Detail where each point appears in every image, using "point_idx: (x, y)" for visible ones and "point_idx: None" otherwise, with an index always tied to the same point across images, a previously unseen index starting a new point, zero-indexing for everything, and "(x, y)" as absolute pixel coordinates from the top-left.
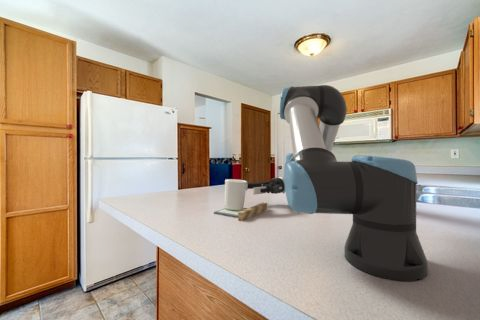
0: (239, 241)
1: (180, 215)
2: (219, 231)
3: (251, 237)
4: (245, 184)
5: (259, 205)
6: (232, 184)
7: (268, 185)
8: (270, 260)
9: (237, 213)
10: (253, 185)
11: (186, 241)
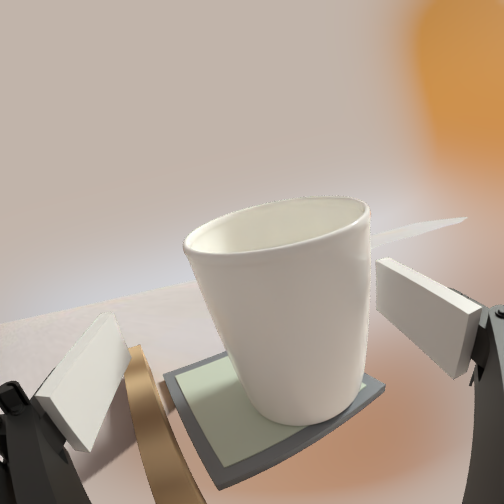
0: (68, 333)
1: None
2: (126, 325)
3: (57, 348)
4: (195, 271)
5: (151, 459)
6: (221, 236)
7: (3, 385)
8: (18, 335)
9: (201, 378)
10: (491, 402)
11: (137, 296)
